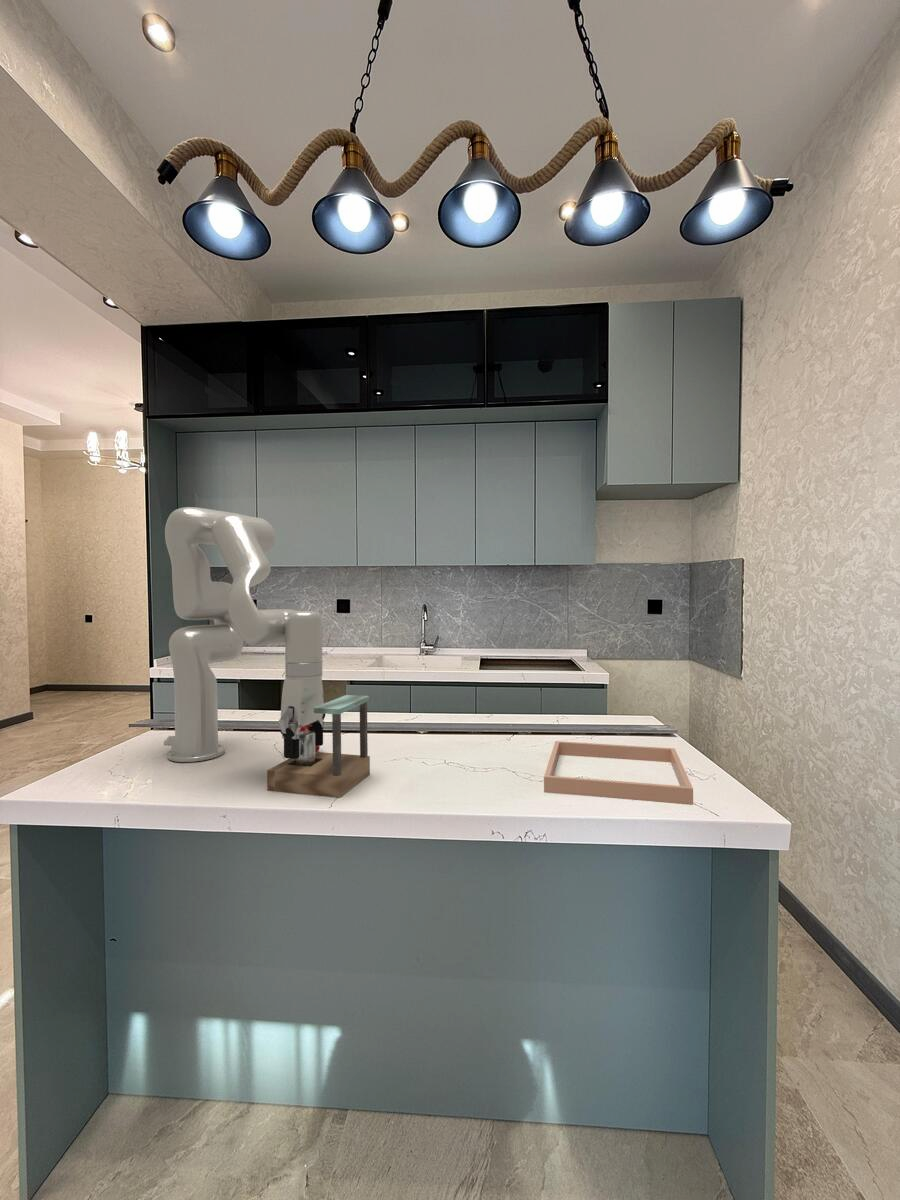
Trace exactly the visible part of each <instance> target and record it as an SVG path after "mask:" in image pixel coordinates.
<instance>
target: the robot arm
mask: <svg viewBox="0 0 900 1200" xmlns="http://www.w3.org/2000/svg"><path fill="white" fill-rule="evenodd" d="M164 538H165V539H164V540H165V545H166V548H167V552H168V555H169V558H170V560H169V561H170V563H171V565H170V566H171V579H172V580H171V581H172V594H173V595H172V598H173V606H174V611H175V613H176V615H177V617H179V618H180V619H182V620H186V621H203V620H213V622H214V624H202V625H188V626H184V627H180V628H179V629H177V630H175V631H174V632H173V633H172V634H171V635H170V637H169V641H168V649H169V650H168V651H169V654H170V660H171V665H172V670H173V687H174V689H173V690H174V691H173V692H174V735H168V736H167V738H166V739H165V740H164V742H163V746H168V747H169V746H170V747H171V750H170V751H169V752H168V753H167V755H168V756H167V757H168V760H170V761H172V762H175V763H176V762H177V763H194V762H195V763H196V762H201V761H202V762H203V761H207V760H211V759H215V758H218V757H220V756H222V755H223V754H224V753H225V752H226V747H225V746H224V745H223V744H220V743H219V735H218V734H219V722H218V721H219V719H218V717H219V715H218V714H219V713H218V712H219V711H218V681H217V678H216V676H215V674H214V672H213V670H212V669H211V667H210V666H209V665H210V664H213V663H214V664H215V663H223V662H228V661H232V660H235V659H237V658H238V657H239V656H240V654H241V653H242V651H243V647H244V643H246V644H247V645H249V646H254V647H262V646H263V647H264V646H274V645H282V644H283V645H284V646H285V647H284V648H285V649H284V651H285V652H284V657H285V659H284V662H285V665H284V667H285V669H284V670H285V671H284V672H285V675H284V676H285V677H284V680H283V685H282V690H281V693H282V694H281V704H280V718H279V720H278V721H277V722H278V723H277V724H278V726H279V729H280V734H281V738H282V739H283V757H284V759H289V758H290V759H298V758H299V739H297V737H298V734H299V731H300V729H301V728H302V727H305V726H307V725H309V724H310V725H311V726H309V731H314V732H315V745H316V746H320V747H321V746H323V745H324V726H325V718H326V714H322V713H314V708H315V707H317V706H320V705H322V704H325V703H326V702H324V700H325V699H324V688H323V687H324V686H323V678H322V677H323V617H322V614H321V613H320V612H318V611H315V610H313V611H312V610H295V609H290V608H285V609H284V608H279V609H278V608H277V609H276V608H274V609H272V608H271V609H258V607H257V605H256V603H255V602H254V599H253V596H252V595H251V591H250V590H251V588H253V587H255V586H257V585H258V584H259V585H260V583H261V582H263V581H264V580H266V579H267V577H268V576H270V575H269V574H270V573H271V570H272V568H271V564H270V562H269V560H268V558H267V555H266V553H268V552H270V551H271V550H272V549H273V547H274V546H275V542H276V533H275V529H274V528H273V525H271V523H269V522H268V521H267V520H266V519H264V518H261V517H254V516H250V515H247V514H246V515H245V514H242V513H241V514H240V513H237V512H230V511H223V510H217V509H210V508H203V507H193V506H187V507H186V506H184V507H180V508H177V509H175V510H173V511H172V512H170V514H169V516H168V518H167V520H166V523H165V527H164ZM200 544H204V545H214V546H217V549H218V550H219V553H220V555H221V556H222V559H223V561H224V563H225V565H226V567H227V569H228V571H229V573H230V575H231V577H232V580H233V581H232V583H230V582H226V581H213V580H212V578H211V565H210V561H209V559H208V558H207V555H206V554H205V552H204V551H203V550H202V548H201V547H200V546H199V545H200ZM291 728H295V729H294V732H293V731H292V730H291Z"/></svg>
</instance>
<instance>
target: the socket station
mask: <svg viewBox="0 0 900 1200" xmlns="http://www.w3.org/2000/svg"><path fill="white" fill-rule="evenodd" d="M369 701H370V696H369V695H358V694H357V695H353V694H352V695H351V694H345V695H342V696H340V697H338V698H335V699H332V700H329V701H328V702H324V703H325V704H322V705H320V706H317V707H315V708H314V713H322V714H325V715H326V714H327V715H331V717H332V718H331V719H332V720H331V721H332V723H331V725H332V726H331V727H332V728H331V729H332V734H331V735H332V736H331V737H332V752H321V751H317V752H315V764H314V765H312V766H311V767H309V766H297V765H296V759H290V758H287V759H286V760H284V761H282V762H280V763H278V764H277V765H275V766H273V767H271V768H268V769H267V771H266V782H267V784H266V789H267V791H270V792H271V791H272V792H279V793H282V792H283V793H288V794H289V793H291V794H299V795H301V794H302V795H311V796H319V797H320V796H321V797H331V798H332V797H333V798H342V797H343V796H345V794H347V793H348V792H350V791H351V790H352V789H353V788H354V787H356V786H357V785H358V784H359V783H361V782H362V781H363V780H364V779H366V778H367V777H369V776H370V775H371V761H370V760H371V759H370V758H371V756H370V755H368V746H369V745H368V702H369ZM358 706H359V754H347V753H342V714H343V713H346V712H348V711H350V710H352V709H354V708H356V707H358Z"/></svg>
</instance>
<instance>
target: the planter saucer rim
mask: <svg viewBox="0 0 900 1200" xmlns="http://www.w3.org/2000/svg"><path fill="white" fill-rule="evenodd" d="M560 756H571V757H583V758H585V757H586V758H597V759H598V758H601V759H613V760H616V759H617V760H631V761H642V762H643V761H646V762H656V763H657V762H659V763H670V764H671V767H672V770H673V772H674V774H675V777H676V780H677V782H678V785H674V784H661V783H660V784H659V783H650V782H649V783H647V782H637V781H635V782H634V781H621V780H611V779H597V778H585V777H573V776H570V777H569V776H559V775H555V773H556V768H557V764H558V761H559V758H560ZM543 792H544V793H551V794H562V795H575V796H585V797H597V798H607V799H619V800H631V801H641V802H643V801H644V802H654V803H663V804H665V803H666V804H675V805H676V804H677V805H688V806H694V787H693V785H692V782H691V780H690V779H689V776H688V775H687V772H686V771H685V768H684V765H683V764H682V761H681V760H680V757H679V755H678V752H677V750H676V748H674V747H672V748H671V747H656V746H655V747H654V746H640V745H626V744H610V743H607V744H606V743H593V742H592V743H591V742H577V741H564V740H563V741H562V740H561V741H559V740H555V741H554V745H553V748H552V751H551V754H550V756H549V759H548V763H547V766H546V769H545V772H544V776H543Z"/></svg>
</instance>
